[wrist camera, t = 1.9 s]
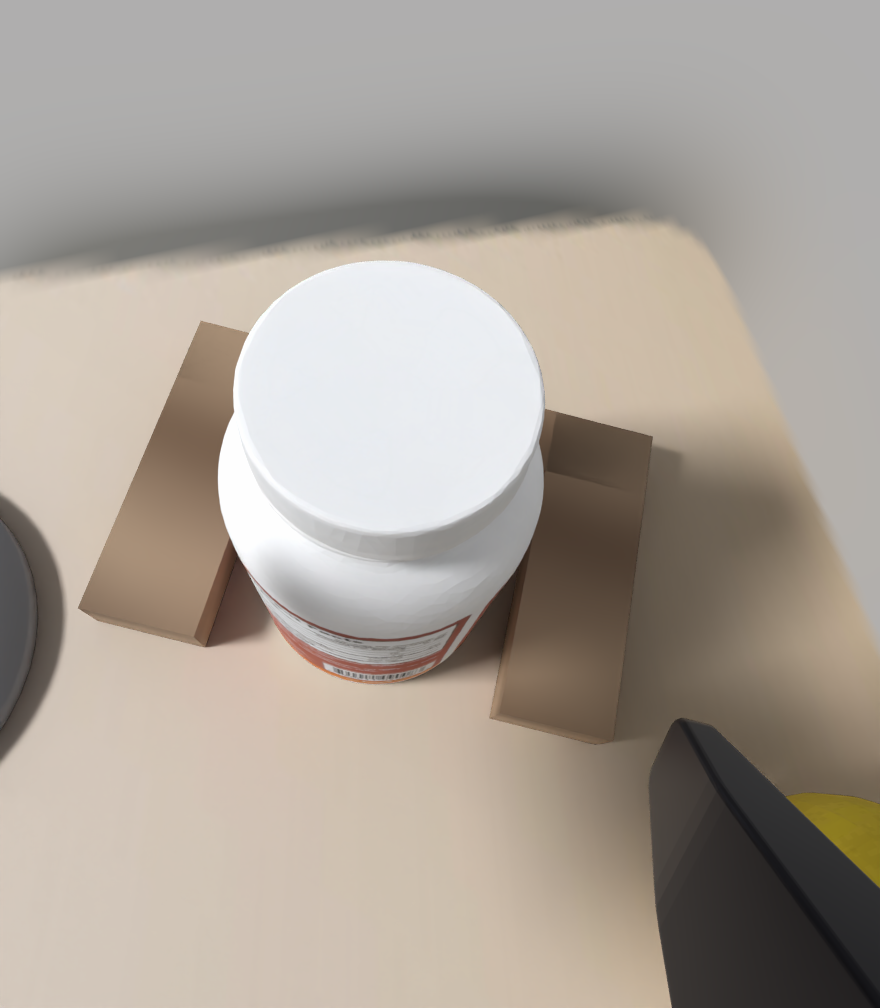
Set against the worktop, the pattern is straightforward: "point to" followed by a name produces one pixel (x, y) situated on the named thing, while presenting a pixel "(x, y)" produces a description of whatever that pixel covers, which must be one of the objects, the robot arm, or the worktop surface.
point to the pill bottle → (382, 464)
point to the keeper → (540, 580)
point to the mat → (15, 621)
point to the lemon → (846, 826)
